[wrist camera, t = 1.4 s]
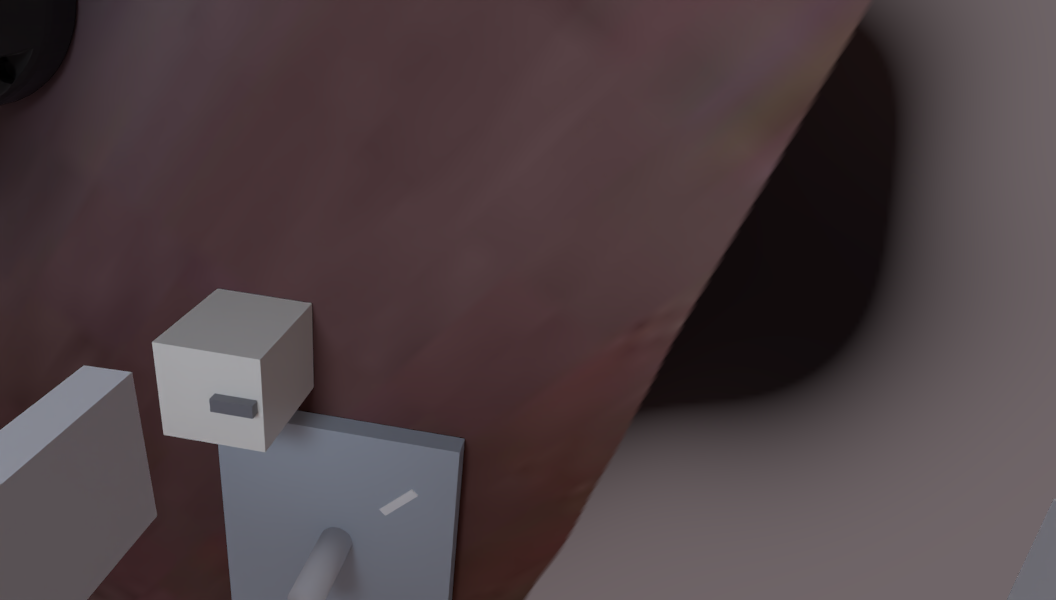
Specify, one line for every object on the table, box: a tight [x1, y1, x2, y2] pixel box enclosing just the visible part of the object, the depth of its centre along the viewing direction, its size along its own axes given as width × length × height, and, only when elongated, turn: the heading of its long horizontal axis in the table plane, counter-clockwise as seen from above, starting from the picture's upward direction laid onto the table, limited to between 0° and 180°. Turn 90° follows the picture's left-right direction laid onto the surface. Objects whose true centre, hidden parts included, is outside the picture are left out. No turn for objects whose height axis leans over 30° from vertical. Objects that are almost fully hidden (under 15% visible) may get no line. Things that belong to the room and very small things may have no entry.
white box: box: [152, 289, 314, 452], centre depth 45 cm, size 6×6×8 cm
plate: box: [218, 410, 465, 600], centre depth 51 cm, size 16×18×7 cm
